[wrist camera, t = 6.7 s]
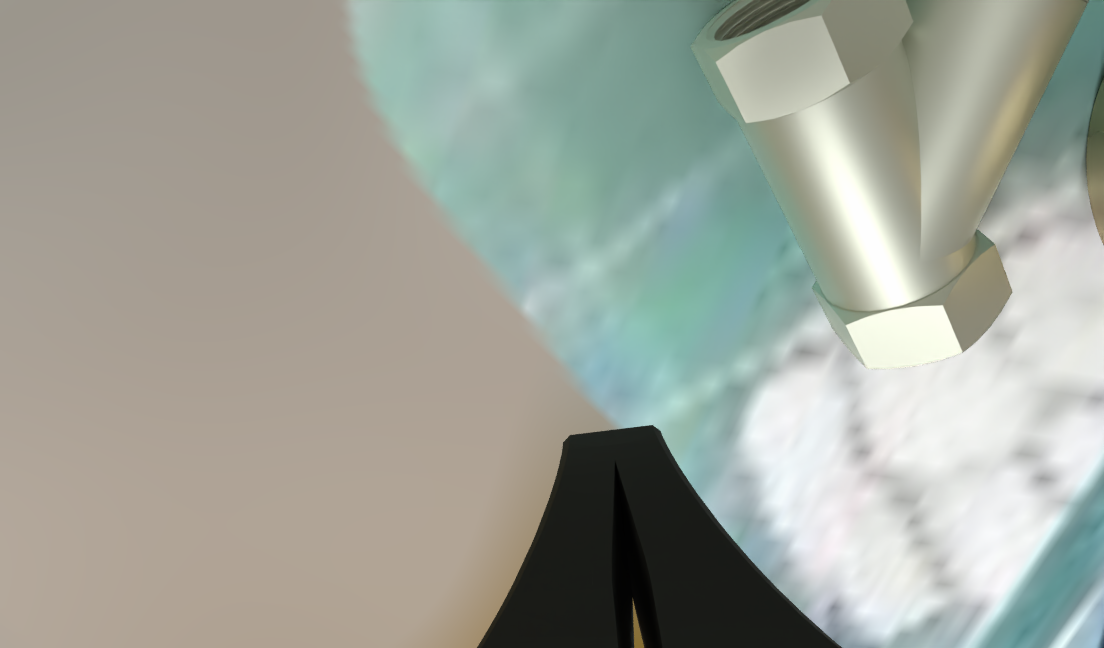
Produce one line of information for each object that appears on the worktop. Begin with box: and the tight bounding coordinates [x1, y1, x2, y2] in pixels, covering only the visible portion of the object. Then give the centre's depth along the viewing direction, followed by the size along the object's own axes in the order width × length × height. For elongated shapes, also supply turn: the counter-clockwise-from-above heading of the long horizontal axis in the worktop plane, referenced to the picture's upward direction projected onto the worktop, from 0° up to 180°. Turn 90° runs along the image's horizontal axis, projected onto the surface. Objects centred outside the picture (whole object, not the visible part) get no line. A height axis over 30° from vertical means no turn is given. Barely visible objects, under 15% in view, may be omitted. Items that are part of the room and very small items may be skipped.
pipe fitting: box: [690, 0, 1089, 369], centre depth 16 cm, size 8×4×7 cm
